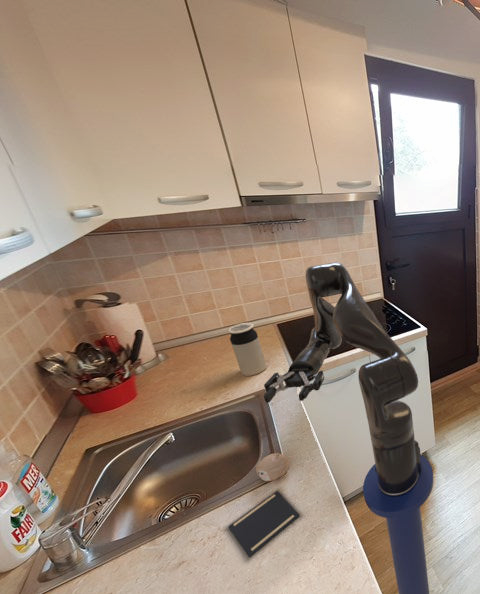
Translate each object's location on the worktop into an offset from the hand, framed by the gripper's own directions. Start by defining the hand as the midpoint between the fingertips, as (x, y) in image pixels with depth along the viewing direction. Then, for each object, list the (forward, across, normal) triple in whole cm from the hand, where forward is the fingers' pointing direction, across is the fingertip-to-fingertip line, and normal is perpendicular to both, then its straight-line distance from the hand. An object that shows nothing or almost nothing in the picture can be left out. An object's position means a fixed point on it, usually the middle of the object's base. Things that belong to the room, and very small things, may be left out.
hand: (283, 399), depth 86 cm
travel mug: (-36, -30, +15) cm, 49 cm away
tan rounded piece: (+11, 0, +14) cm, 18 cm away
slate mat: (+23, +3, +14) cm, 27 cm away
